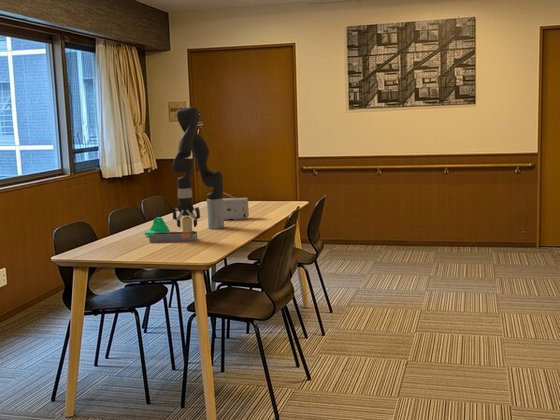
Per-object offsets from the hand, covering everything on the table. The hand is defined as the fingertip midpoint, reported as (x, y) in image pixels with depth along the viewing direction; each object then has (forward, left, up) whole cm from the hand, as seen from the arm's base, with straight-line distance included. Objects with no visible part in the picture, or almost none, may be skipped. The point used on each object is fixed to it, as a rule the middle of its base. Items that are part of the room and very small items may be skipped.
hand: (187, 227), depth 357 cm
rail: (0, -8, -7) cm, 11 cm away
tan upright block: (0, 0, -5) cm, 5 cm away
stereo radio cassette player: (-70, +8, -7) cm, 71 cm away
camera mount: (-16, -23, -8) cm, 29 cm away
